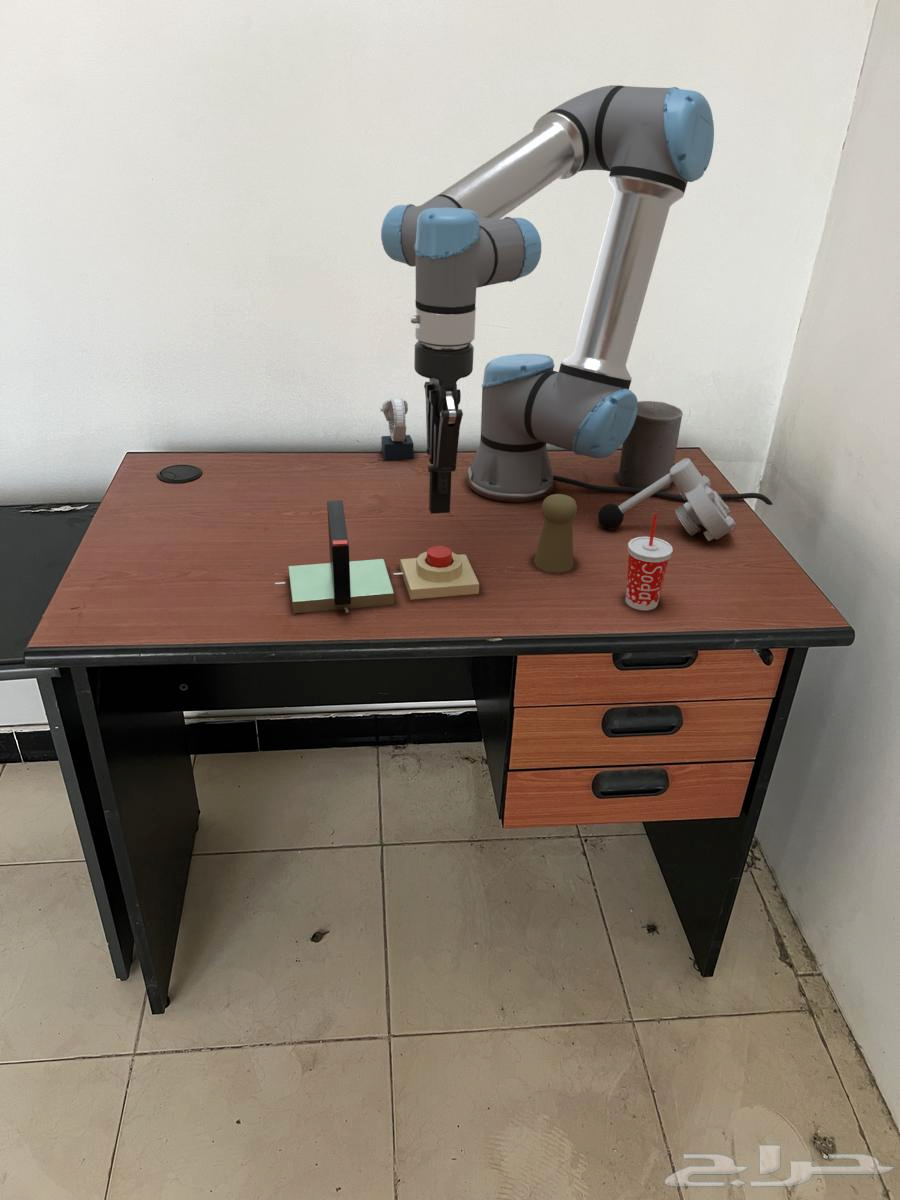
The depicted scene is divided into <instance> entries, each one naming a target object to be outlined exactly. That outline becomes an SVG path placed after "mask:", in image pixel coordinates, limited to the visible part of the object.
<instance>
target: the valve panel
mask: <svg viewBox="0 0 900 1200" xmlns="http://www.w3.org/2000/svg"><path fill="white" fill-rule="evenodd" d="M349 562H350V589H351V604H343V605H335V602H334V592H333V582H332V572H331V562H325V563H312V564H311V563H310V564H300V565H288V567H287V568H288V578H289V579H288V580H289V588H290V596H291V598H290V599H291V605H292V614H294V615H297V614H304V613H316V612H328V611H329V612H330V611H339V610H344V611H345V613H346V614H349V609H362V608H373V607H383V606H385V607H386V606H394V605H395V592H394V589H393V585H392V582H391V579H390V576H389V572H388V569H387V565H386V562H385V559H384V558H377V559H364V560H351V561H350V560H349ZM392 575H393V576H403V573H402V572H396V573H395V572H393V574H392ZM274 585H275V586H280V585H286V581H281V582H275V583H274Z"/></svg>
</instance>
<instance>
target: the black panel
mask: <svg viewBox="0 0 900 1200" xmlns="http://www.w3.org/2000/svg"><path fill="white" fill-rule="evenodd" d="M326 506H327V507H326V509H327V523H328V525H327V526H328V547H329V561H330V562H329V563H331V572H332V582H333V592H334V602H335V605H343V604H351V589H350V562H349V561H350V545H349V544H350V543H349V536H348V529H347V523H346V516H345V508H344V500H342V499H338V500H327V501H326Z"/></svg>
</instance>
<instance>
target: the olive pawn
mask: <svg viewBox="0 0 900 1200" xmlns="http://www.w3.org/2000/svg"><path fill="white" fill-rule="evenodd" d="M577 513H578V505H577V502H576V500H575V499H574V498H573V497H571V496H570V495H567V494H562V493H554V494H549V495H547V496H545V497H544V499H543V502H542V504H541V514H542V516H543V521H542V527H541V530H540V535H539V540H538V543H537V547H536V552H535V556H534V561H533V562H534V565H535V566H536V568H538V569H540V570H541V571H545V572H547V573H555V574H557V573H565V572H568V571H570V570H572V569H573V567H574V565H575V563H574V537H573V520H574V519H575V518H576V516H577Z"/></svg>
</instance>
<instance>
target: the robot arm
mask: <svg viewBox="0 0 900 1200" xmlns="http://www.w3.org/2000/svg"><path fill="white" fill-rule="evenodd" d="M714 140H715V124H714V118H713V111H712V108H711V105H710V104H709V101H708V100H707V98H706V97H705V96H704V95H703V94H702V93H700V92H699V91H696V90H691V89H684V88H679V87H676V86H671V87H654V86H653V87H651V86H650V87H648V86H629V85H619V84H617V85H612V84H610V85H604V86H600V87H597V88H594V89H591V90H588V91H586V92H583V93H581V94H579V95H577V96H574V97H572V98H570V99H568V100H567V101H564V102H563V103H561V104H559V105H558V106H556V107H554V108H553V109H552V108H551V110H550V111H548V112H546V113H545V114H543V115H542V116H540V117H539V118H538V119H537V120H536V122H535V123H534V125H533V128H532V130H531V132H529V133H528V134H526V135H524V136H523V137H522V138H520V139H519V140H517V141H516V142H514V143H513V144H511V145H510V146H509V147H507V148H505V149H504V150H502V151H501V152H500V153H498V154H497V155H495V156H494V157H492V158H490V159H489V160H488V161H485V163H482V165H479V166H478V167H477V168H476V169H474V170H472V171H470V172H469V173H468V174H467V175H465V176H464V177H461V178H460V179H459V180H457V181H456V182H455V183H453V184H451V185H450V186H448V187H447V188H446V189H444V190H443V191H441V192H440V193H438V194H437V195H434V197H432V198H430V199H428V200H427V201H426V202H424V203H422V204H420V205H417V206H416V205H415V204H412V203H407V204H397V205H395V206H393V207H391V208H390V209H389V210H388V212H387V213H386V214H385V216H384V218H383V220H382V224H381V229H380V239H381V245H382V248H383V250H384V252H385V253H386V255H387V256H388V257H389V259H391V260H392V261H394V262H398V263H401V264H406V265H407V266H409V267H412V268H413V267H415V300H414V302H415V309H414V310H415V312H416V315H411V316H410V323H411V324H414V325H415V326H414V329H415V330H414V331H415V332H414V337H415V339H416V340H417V341H416V342H415V344H414V362H413V363H414V366H413V367H414V368H413V369H414V371H415V373H417V375H419V376H421V377H424V378H425V379H429V381H425V382H424V384H423V388H424V395H425V421H426V454H427V456H429V458H428V462H429V464H430V465H427V471H428V473H429V489H428V490H429V493H428V495H429V496H428V510H429V513H430V514H431V515H433V514H450V513H451V497H452V496H451V493H452V473H453V472H456V469H457V458H458V457H457V456H458V448H459V440H460V429H461V423H462V419H463V416H464V412H463V410H462V409H460V408H459V406H460V403H461V397H462V396H461V393H462V392H461V389H458V384H457V382H458V381H459V380H460V379H465V378H467V377H469V376H470V375H472V373H473V370H474V353H475V352H474V351H475V348H474V345H473V344H472V342H473V341H474V340H476V339H475V337H476V336H475V335H476V317H477V316H476V313H477V308H476V307H477V306H476V302H477V289H479V288H483V287H487V286H493V285H497V284H502V283H506V282H507V283H508V282H509V283H512V282H514V281H517V280H518V279H520V278H523V277H526V276H528V275H530V274H532V273H533V272H534V270H535V269H536V268H537V266H538V265H539V263H540V260H541V256H542V240H541V235H540V234H539V231H538V229H537V228H536V227H535V225H534V224H533V223H532V222H530V220H528V219H526V218H524V217H511V216H507V215H508V214H510V213H511V212H513V211H514V210H515V209H517V208H518V207H519V206H521V205H522V204H524V203H525V202H527V201H528V200H530V199H531V198H532V197H534V196H535V195H536V194H538V193H539V192H540V191H543V190H544V189H545V188H546V187H548V186H549V185H550V184H552V183H554V182H555V181H556V180H567V179H570V178H572V177H574V176H576V174H578V173H580V172H584V171H606V172H609V174H608V179H607V181H608V184H609V185H610V187H611V189H612V191H613V194H614V195H613V198H612V202H611V203H612V204H611V207H610V210H609V215H608V217H607V222H606V226H605V229H604V233H603V236H602V237H603V238H602V241H601V244H600V249H599V252H598V255H597V260H596V265H595V268H594V272H593V276H592V278H591V279H592V280H591V284H590V287H589V291H588V295H587V298H586V299H587V300H586V302H585V306H584V310H583V313H582V314H583V315H582V318H581V322H580V324H579V325H580V326H579V329H578V333H577V337H576V341H575V345H574V349H573V352H572V354H571V355H569V356H567V357H566V358H564V359H563V360H561V361H560V366H559V369H558V371H556V370H554V368H555V361H554V359H553V358H552V357H551V356H550V355H547V354H541V353H514V354H508V355H502V356H499V357H496V358H493V359H491V360H490V361H488V362H487V363H486V365H485V367H484V371H483V379H482V384H481V413H480V414H481V417H480V418H481V419H480V438H479V440H480V441H479V445H478V448H477V450H476V452H475V455H474V458H473V460H472V463H471V466H470V465H469V467H468V469H467V473H468V479H467V480H468V481H467V484H468V486H469V488H470V489H471V491H472V492H474V493H475V494H476V495H479V496H481V497H483V498H485V499H489V500H493V501H496V502H497V501H498V502H505V503H525V502H532V501H537V500H540V499H543V498H546V497H548V496H549V495H550V494H551V493H552V491H553V488H554V481H555V482H559V483H563V484H566V485H572V486H575V487H579V488H583V489H586V490H589V491H590V490H591V491H597V492H603V493H604V492H606V493H627V494H628V493H629V494H630V493H631V494H638V493H639V492H641V491H642V490H644V489H643V488H632V487H625V486H606V485H596V484H592V483H587V482H584V481H581V480H576V479H573V478H569V477H564V476H560V475H555V474H554V473H553V469H552V465H551V461H550V456H549V452H548V448H547V445H551V446H553V447H557V448H561V449H564V450H566V451H570V452H573V453H574V454H575V455H577V456H585V457H590V458H593V459H603V458H608V457H609V456H611V455H613V454H614V453H615V452H617V451H618V449H619V448H620V447H622V444H623V443H624V441H625V440H626V438H627V437H628V435H629V433H630V431H631V429H632V427H633V425H634V422H635V419H636V416H637V411H638V407H637V404H638V402H639V401H638V397H637V395H636V394H635V392H633V391H632V390H631V389H630V386H631V384H632V378H633V377H632V375H631V374H630V372H629V370H628V368H627V362H628V359H629V355H630V352H631V349H632V345H633V341H634V337H635V335H636V330H637V327H638V323H639V319H640V316H641V312H642V308H643V305H644V302H645V298H646V294H647V291H648V288H649V284H650V281H651V276H652V273H653V269H654V266H655V262H656V259H657V255H658V251H659V248H660V244H661V240H662V237H663V234H664V230H665V226H666V223H667V219H668V216H669V212H670V208H671V207H672V206H673V205H674V204H675V203H677V202H678V201H680V200H681V199H683V198H684V196H685V192H686V189H687V185H688V183H693V182H695V181H698V180H700V179H701V178H702V177H703V176H704V174H705V172H706V171H707V169H708V167H709V165H710V163H711V160H712V156H713V155H712V154H713V150H714V149H713V148H714V142H715V141H714ZM718 494H719V496H720V497H721V499H722V500H744V499H745V500H747V499H757V500H760V501H762V502H763V503H765V504H766V505H768V506H773V505H774V503H773V501H772V500H771V499H770V498H769V497H768V496H767V495H764V494H762V493H759V492H744V493H718ZM652 496H654V497H658V498H659V497H660V498H665V499H668V500H669V499H670V500H674V501H675V500H676V501H683V502H688V500H687V499H686V500H684V499H683V498H682V496H681V494H676V493H671V492H665V491H662V490H661V491H657V492H656V493H654V494H653V495H652Z"/></svg>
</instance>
